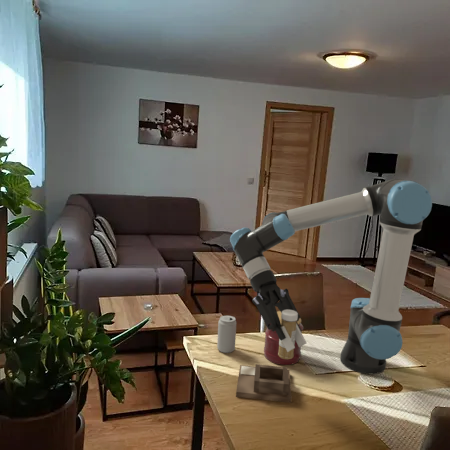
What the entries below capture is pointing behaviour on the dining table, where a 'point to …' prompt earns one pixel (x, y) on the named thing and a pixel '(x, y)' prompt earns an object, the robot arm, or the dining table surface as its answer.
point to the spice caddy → (264, 383)
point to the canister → (273, 347)
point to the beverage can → (226, 334)
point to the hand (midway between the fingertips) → (297, 347)
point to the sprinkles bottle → (290, 325)
